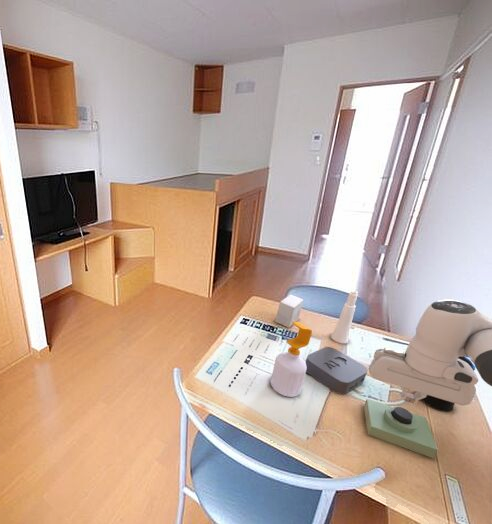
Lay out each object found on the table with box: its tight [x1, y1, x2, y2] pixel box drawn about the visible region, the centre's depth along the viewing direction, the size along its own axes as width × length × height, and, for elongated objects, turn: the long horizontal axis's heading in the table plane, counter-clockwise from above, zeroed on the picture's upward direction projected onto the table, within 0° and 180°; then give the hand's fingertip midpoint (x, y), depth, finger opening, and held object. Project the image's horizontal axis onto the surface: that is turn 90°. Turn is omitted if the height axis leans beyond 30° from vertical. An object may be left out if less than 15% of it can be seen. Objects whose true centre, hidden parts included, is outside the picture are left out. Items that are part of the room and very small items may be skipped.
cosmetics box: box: [274, 294, 304, 329], centre depth 134 cm, size 10×6×10 cm, turn 132°
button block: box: [363, 398, 439, 459], centre depth 85 cm, size 14×11×5 cm
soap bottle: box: [270, 321, 313, 398], centre depth 95 cm, size 9×9×25 cm
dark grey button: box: [392, 406, 413, 424], centre depth 84 cm, size 4×4×2 cm
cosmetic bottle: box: [330, 289, 359, 344], centre depth 120 cm, size 6×6×22 cm
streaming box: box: [305, 346, 368, 395], centre depth 104 cm, size 14×14×5 cm
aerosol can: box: [420, 356, 476, 412], centre depth 92 cm, size 8×8×20 cm
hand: (407, 400), depth 82 cm, fingers closed
